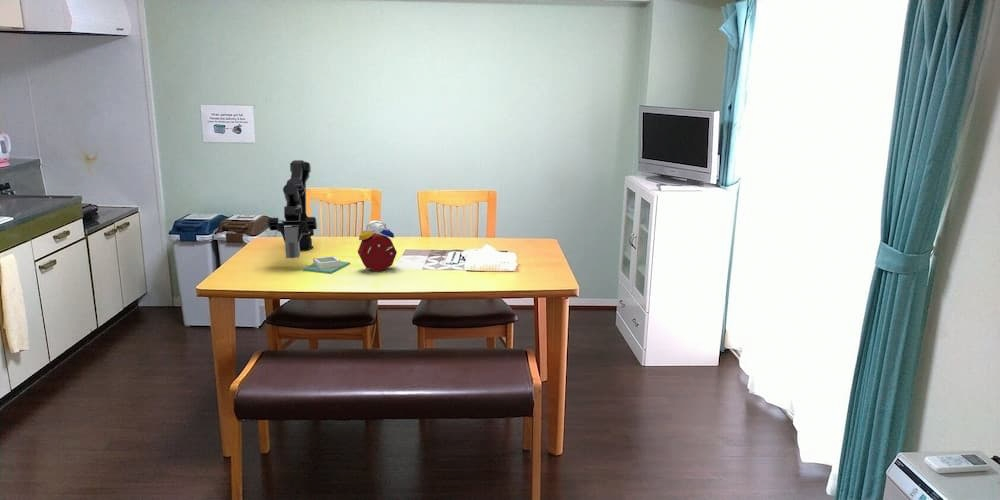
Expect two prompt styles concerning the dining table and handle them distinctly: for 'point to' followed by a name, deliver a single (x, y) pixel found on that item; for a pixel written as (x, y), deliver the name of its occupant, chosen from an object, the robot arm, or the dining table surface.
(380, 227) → the photo printer
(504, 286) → the dining table surface
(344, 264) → the header board
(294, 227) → the grey rectangular block
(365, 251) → the alarm clock
